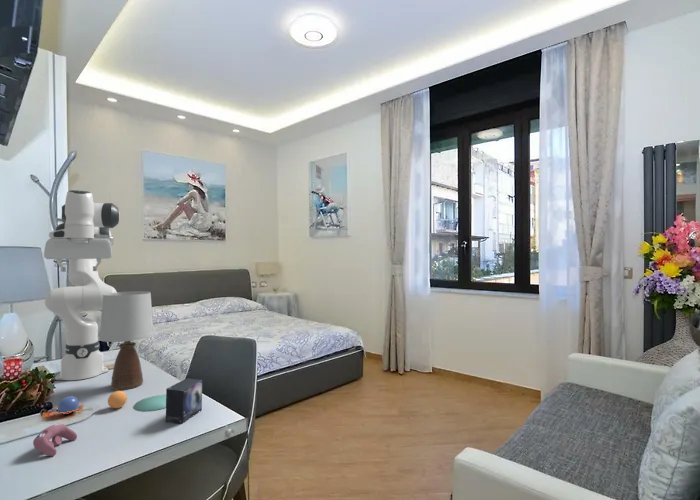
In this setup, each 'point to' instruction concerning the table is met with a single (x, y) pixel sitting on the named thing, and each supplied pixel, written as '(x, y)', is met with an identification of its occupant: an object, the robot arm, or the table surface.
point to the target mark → (151, 403)
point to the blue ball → (68, 404)
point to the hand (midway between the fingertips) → (79, 271)
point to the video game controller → (53, 438)
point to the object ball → (117, 399)
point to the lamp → (126, 333)
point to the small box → (183, 400)
